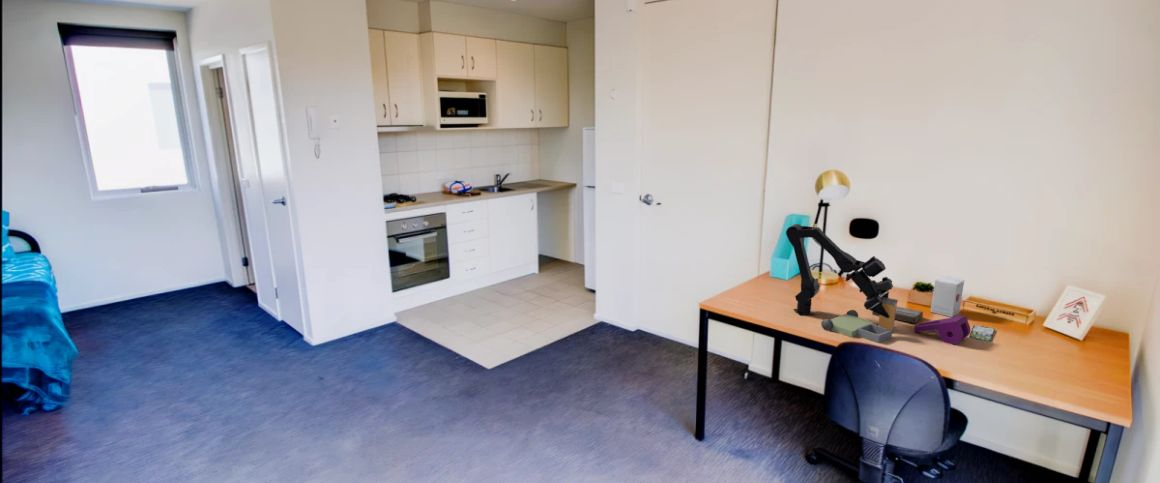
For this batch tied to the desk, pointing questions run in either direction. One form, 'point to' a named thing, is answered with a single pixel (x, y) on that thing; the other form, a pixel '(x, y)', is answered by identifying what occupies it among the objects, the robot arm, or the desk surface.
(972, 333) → the mottled grey green block
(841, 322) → the green slab with frame
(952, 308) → the supplement box
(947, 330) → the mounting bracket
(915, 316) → the box
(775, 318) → the desk surface
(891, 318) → the tan rectangular column
